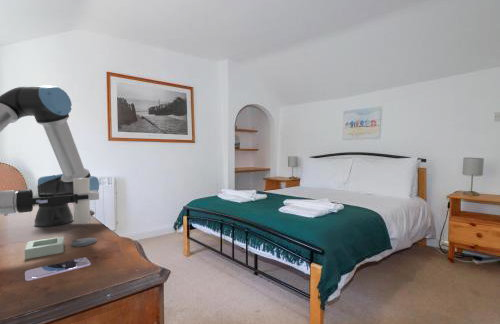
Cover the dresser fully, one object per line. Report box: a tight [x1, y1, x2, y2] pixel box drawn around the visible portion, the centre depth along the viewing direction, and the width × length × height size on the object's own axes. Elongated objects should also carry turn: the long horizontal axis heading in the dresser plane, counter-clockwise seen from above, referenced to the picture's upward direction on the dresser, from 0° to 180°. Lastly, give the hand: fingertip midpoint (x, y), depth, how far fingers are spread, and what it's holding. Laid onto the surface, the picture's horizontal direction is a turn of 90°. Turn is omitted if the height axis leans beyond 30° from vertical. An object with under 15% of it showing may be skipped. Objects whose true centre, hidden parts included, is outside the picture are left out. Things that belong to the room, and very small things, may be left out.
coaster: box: [70, 237, 97, 248], centre depth 100 cm, size 8×8×1 cm
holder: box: [24, 235, 65, 260], centre depth 92 cm, size 10×10×3 cm
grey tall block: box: [73, 178, 91, 225], centre depth 99 cm, size 5×5×16 cm
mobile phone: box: [24, 256, 91, 282], centre depth 78 cm, size 8×1×15 cm
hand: (97, 194), depth 102 cm, fingers closed on grey tall block, 5 cm apart
